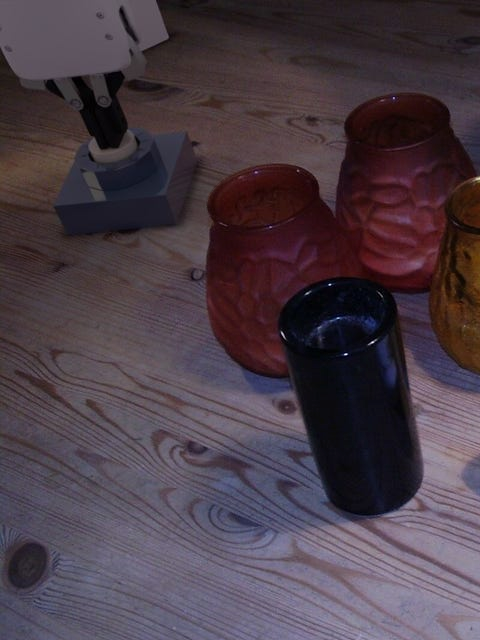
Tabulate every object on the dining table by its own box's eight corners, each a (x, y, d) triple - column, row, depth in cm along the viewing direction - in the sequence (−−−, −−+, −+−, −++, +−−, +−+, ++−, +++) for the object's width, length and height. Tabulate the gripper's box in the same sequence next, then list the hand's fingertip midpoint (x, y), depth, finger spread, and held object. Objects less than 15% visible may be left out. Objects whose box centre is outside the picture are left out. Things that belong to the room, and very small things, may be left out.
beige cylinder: (94, 180, 89) (83, 156, 87) (105, 154, 91) (94, 130, 90) (138, 175, 88) (127, 151, 86) (147, 150, 91) (138, 126, 89)
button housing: (70, 241, 90) (43, 187, 85) (98, 176, 97) (74, 123, 92) (179, 231, 89) (157, 175, 85) (199, 166, 96) (180, 112, 92)
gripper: (131, -100, 77) (204, 108, 90) (-55, -77, 78) (44, 125, 91) (107, -59, 72) (188, 155, 85) (-92, -35, 73) (19, 173, 86)
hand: (113, 139), depth 88 cm, fingers closed
